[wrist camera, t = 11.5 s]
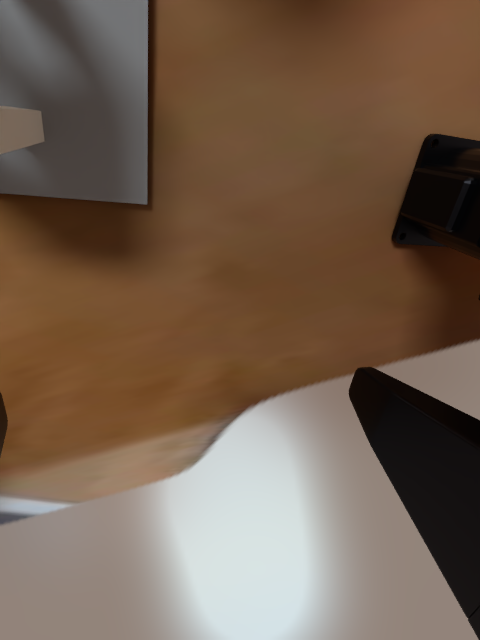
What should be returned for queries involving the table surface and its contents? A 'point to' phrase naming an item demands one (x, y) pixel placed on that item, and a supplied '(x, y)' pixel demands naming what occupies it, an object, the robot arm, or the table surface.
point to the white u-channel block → (19, 128)
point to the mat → (77, 97)
